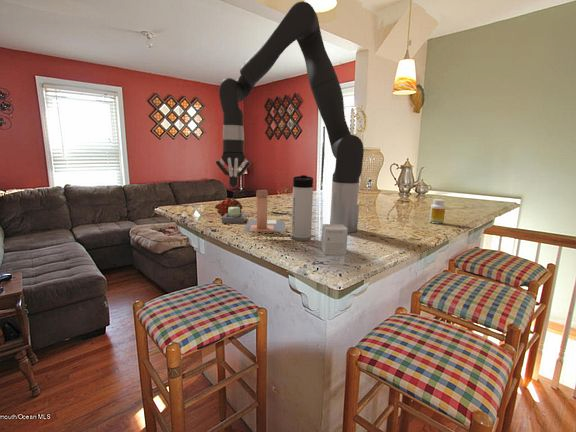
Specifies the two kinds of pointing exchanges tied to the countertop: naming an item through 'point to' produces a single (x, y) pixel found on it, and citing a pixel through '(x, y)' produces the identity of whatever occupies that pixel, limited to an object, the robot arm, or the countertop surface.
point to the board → (271, 226)
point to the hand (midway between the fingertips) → (233, 186)
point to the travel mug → (302, 208)
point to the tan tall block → (261, 209)
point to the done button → (234, 212)
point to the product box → (334, 239)
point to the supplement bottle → (437, 211)
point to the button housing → (233, 219)
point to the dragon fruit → (227, 205)
